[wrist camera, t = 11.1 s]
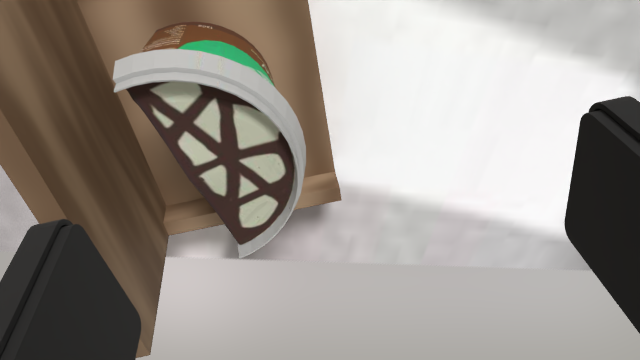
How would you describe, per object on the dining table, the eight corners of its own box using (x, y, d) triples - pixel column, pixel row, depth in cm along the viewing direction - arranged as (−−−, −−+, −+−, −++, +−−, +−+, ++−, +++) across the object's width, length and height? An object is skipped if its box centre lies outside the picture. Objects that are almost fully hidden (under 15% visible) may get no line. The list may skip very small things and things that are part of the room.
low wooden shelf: (284, -122, 28) (322, -77, 16) (330, 162, 40) (371, 308, 28) (40, -76, 28) (-106, 4, 16) (160, 196, 40) (129, 359, 28)
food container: (320, 131, 35) (345, 224, 27) (241, 164, 36) (243, 265, 28) (238, -40, 28) (240, 18, 20) (141, 6, 28) (105, 80, 20)
